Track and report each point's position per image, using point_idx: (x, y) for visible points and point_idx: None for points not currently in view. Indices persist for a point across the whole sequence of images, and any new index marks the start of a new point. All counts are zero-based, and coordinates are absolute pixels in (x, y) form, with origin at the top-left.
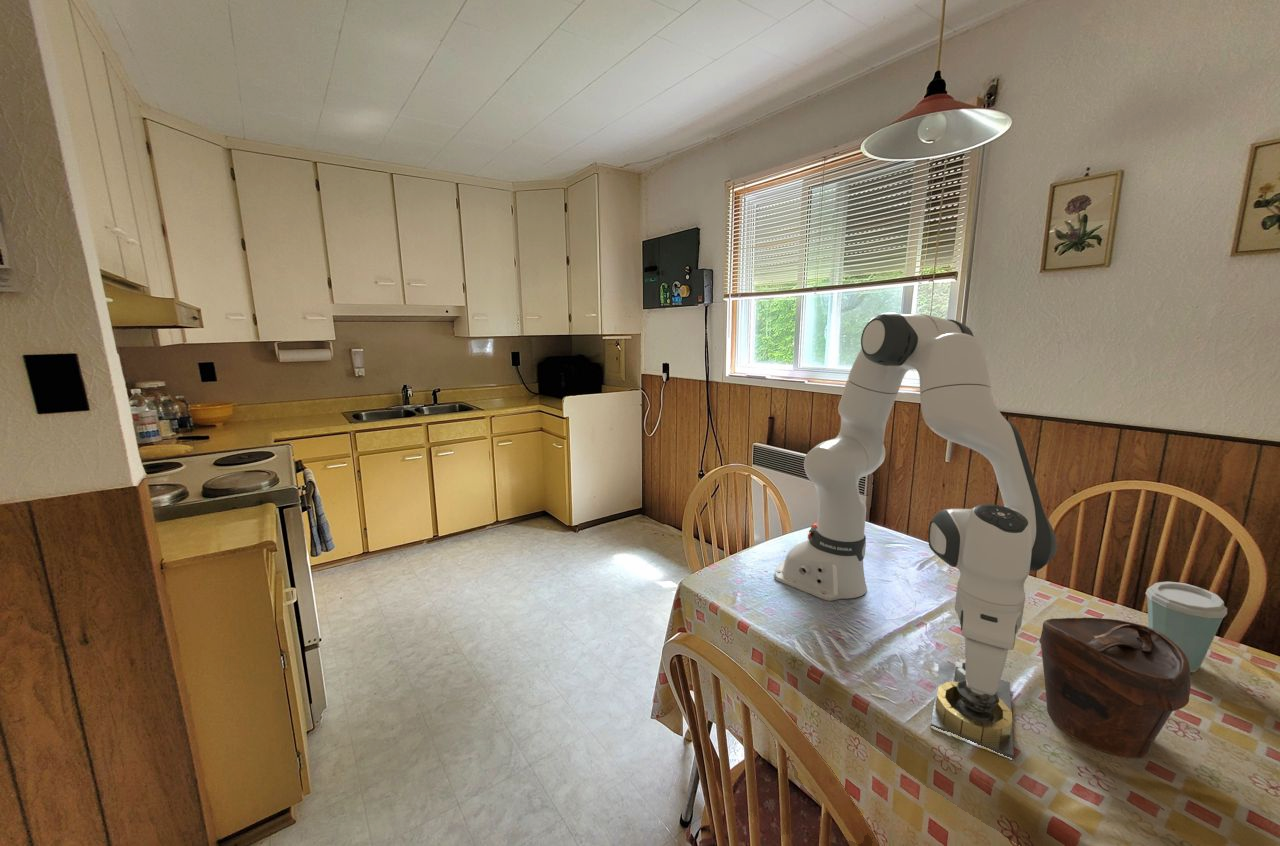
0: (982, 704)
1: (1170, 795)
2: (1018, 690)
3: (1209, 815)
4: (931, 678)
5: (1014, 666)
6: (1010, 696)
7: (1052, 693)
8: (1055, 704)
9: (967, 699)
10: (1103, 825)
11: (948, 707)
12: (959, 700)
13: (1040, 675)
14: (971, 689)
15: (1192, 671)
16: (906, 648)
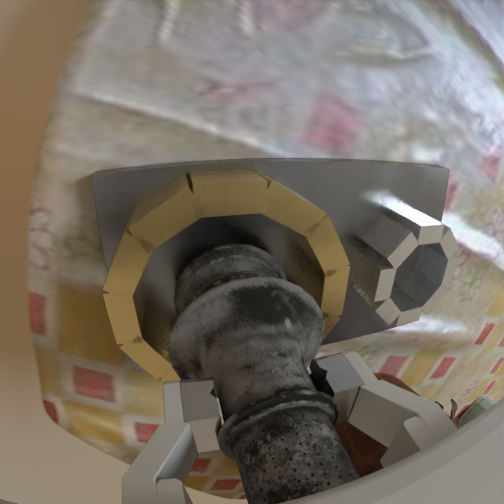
0: (177, 371)
1: (235, 473)
2: (402, 328)
3: (226, 486)
4: (374, 141)
5: (462, 306)
6: (367, 334)
7: (351, 440)
8: (336, 427)
9: (173, 326)
10: (101, 442)
11: (139, 239)
12: (256, 251)
13: (446, 341)
14: (163, 385)
15: (459, 422)
16: (461, 79)
